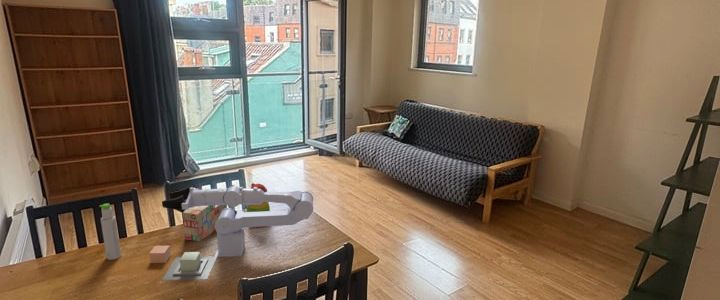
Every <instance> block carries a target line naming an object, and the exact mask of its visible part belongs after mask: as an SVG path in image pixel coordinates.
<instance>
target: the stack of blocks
mask: <svg viewBox="0 0 720 300" xmlns="http://www.w3.org/2000/svg"><path fill="white" fill-rule="evenodd" d="M225 208H228V205H226V204H225V205H210V206H195V207H192V208H189V209H184V210H185V211H184V212H182V223H183V230H184V240H188V241H194V242H201V241H202V240H205V239H206V238H207V237H209V236H210V235H211V234H212V233H214V231H216V229H215V223H216V221H217V220H218V218H219V216H220V213H221V211H222V210H223V209H225Z"/></svg>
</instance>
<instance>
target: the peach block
mask: <svg viewBox="0 0 720 300" xmlns="http://www.w3.org/2000/svg"><path fill="white" fill-rule="evenodd" d="M148 256H149V262H150V264H163V263H164V264H166V263H167V262H168V260H169V259H170V257H171V256H172V254H171V245H154V246H153V247H152V249H151V250H150V252H149V254H148Z"/></svg>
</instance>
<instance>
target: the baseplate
mask: <svg viewBox="0 0 720 300" xmlns="http://www.w3.org/2000/svg"><path fill="white" fill-rule="evenodd" d="M181 257H182V256H176V257H175V259H174V261H173V262H172V263H171V265H170V267H169V268H168V270H167V271H166V273H165V274H164V276H163V278H162V279H161V281H193V280H194V281H195V280H197V281H199V280H201V281H202V280H208V277H209V276H210V273H211V272H212V269H213V267H214V264H215V262H216V260H217V258H218V255H217V256H215V255H214V256H211V255H209V256H208V255H207V256H200V261H201V264H200V266H199V268H198V270H197V271H192V272H181V267H180V259H181Z"/></svg>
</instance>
